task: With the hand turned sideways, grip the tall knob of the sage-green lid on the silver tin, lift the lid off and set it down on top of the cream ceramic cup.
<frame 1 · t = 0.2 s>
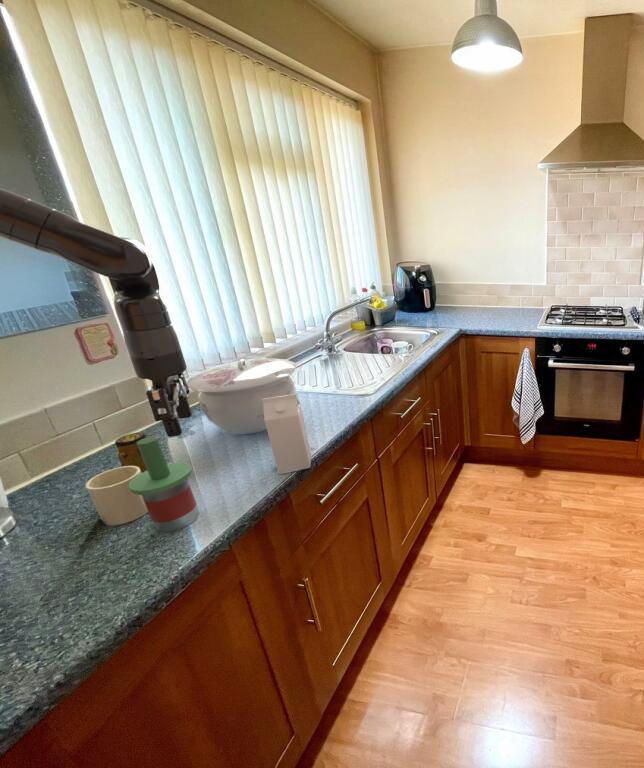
hand: (180, 426, 82), 19 cm above the countertop, tool pointing down, fingers open, 8 cm apart
tin: (178, 520, 84), on the countertop
milk carton: (295, 465, 103), on the countertop
chamber pot: (259, 423, 124), on the countertop
condiment: (151, 482, 97), on the countertop
cup: (129, 512, 86), on the countertop
lid: (162, 479, 80), point 10 cm above the countertop, touching tin
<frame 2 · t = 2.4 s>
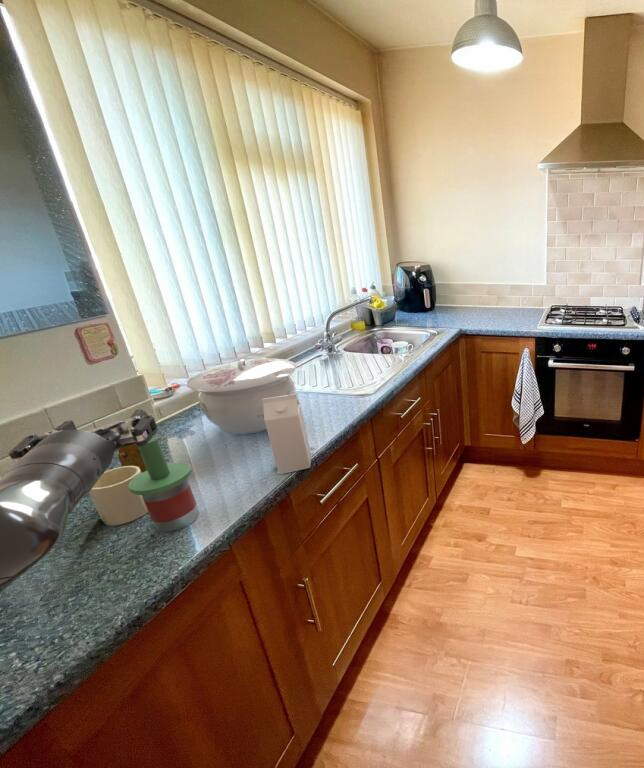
hand: (107, 420, 64), 28 cm above the countertop, tool horizontal, fingers open, 8 cm apart
nothing on the countertop moved.
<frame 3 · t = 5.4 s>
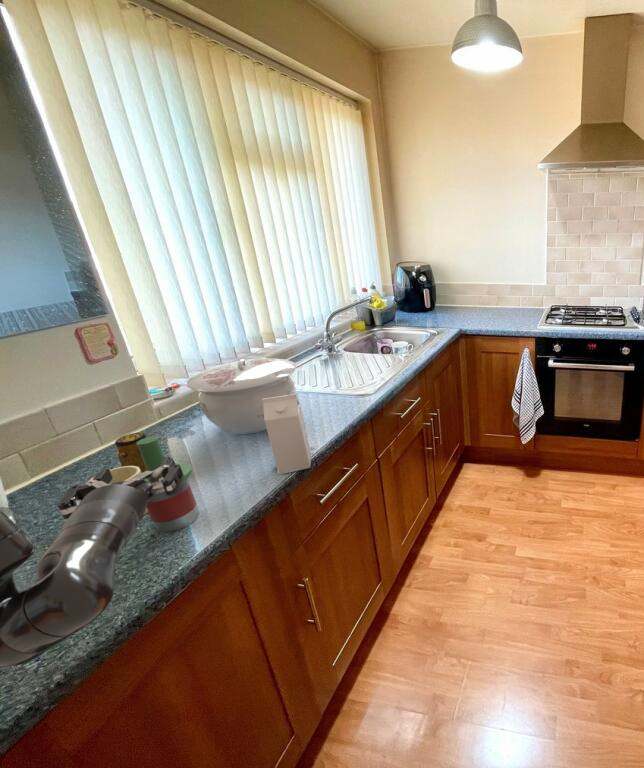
hand: (139, 467, 72), 17 cm above the countertop, tool horizontal, fingers open, 8 cm apart
nothing on the countertop moved.
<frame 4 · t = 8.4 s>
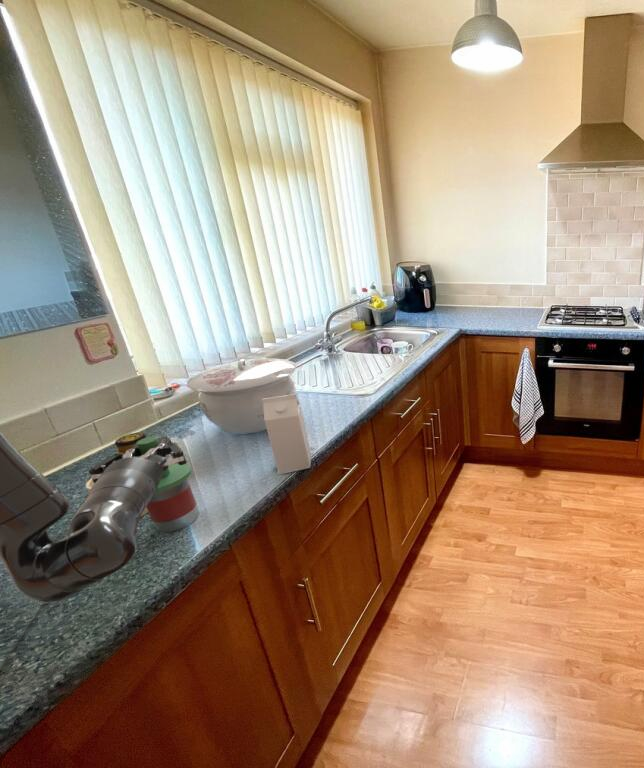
hand: (154, 442, 80), 17 cm above the countertop, tool horizontal, fingers closed on lid, 3 cm apart
lid: (162, 480, 80), point 10 cm above the countertop, touching gripper, tin
everything else where it was.
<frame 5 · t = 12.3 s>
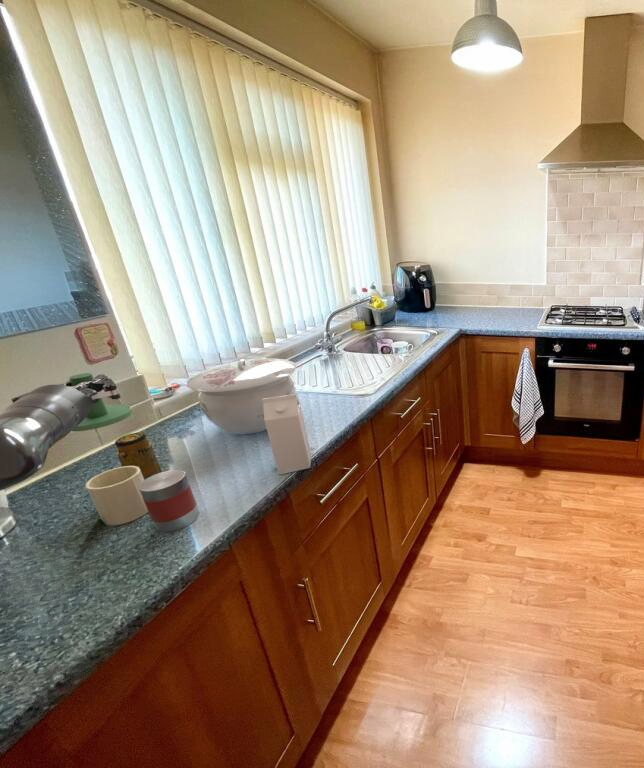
hand: (91, 380, 77), 29 cm above the countertop, tool horizontal, fingers closed on lid, 3 cm apart
lid: (99, 419, 77), point 22 cm above the countertop, touching gripper
everything else where it was.
when the fingers open (16 cm above the countertop, at t = 16.4 s): lid stays where it is, resting on cup.
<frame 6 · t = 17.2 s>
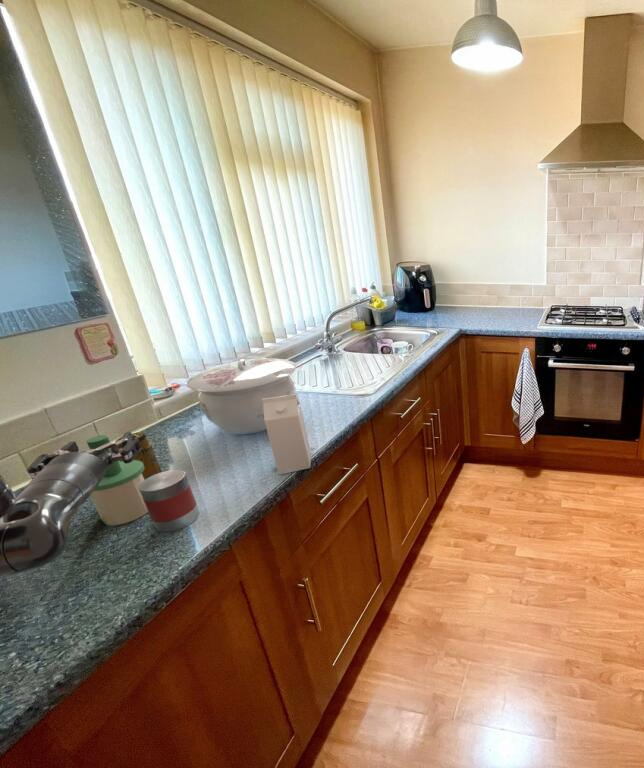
hand: (102, 440, 82), 17 cm above the countertop, tool horizontal, fingers open, 8 cm apart
lid: (114, 476, 83), point 9 cm above the countertop, touching cup
everything else where it was.
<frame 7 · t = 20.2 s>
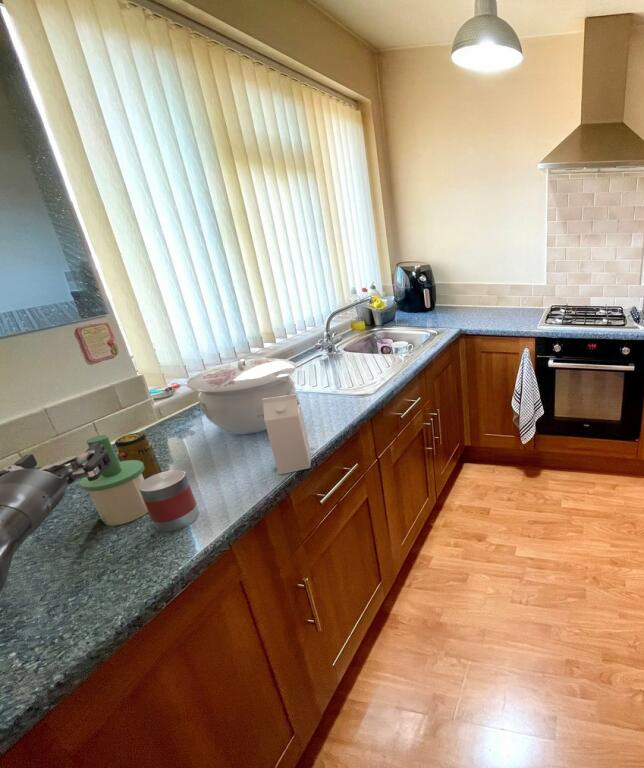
hand: (66, 453, 70), 20 cm above the countertop, tool horizontal, fingers open, 8 cm apart
nothing on the countertop moved.
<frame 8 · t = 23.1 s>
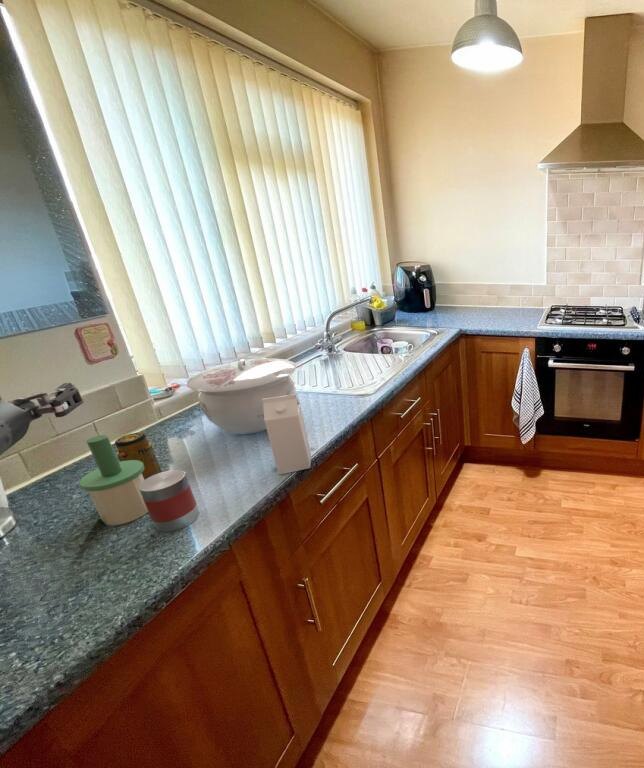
hand: (34, 392, 65), 32 cm above the countertop, tool horizontal, fingers open, 8 cm apart
nothing on the countertop moved.
at the end: lid 0.1 cm off-centre on the cup, point 9.0 cm above the cup's base; lid tilted 0°; the gripper is holding nothing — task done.
